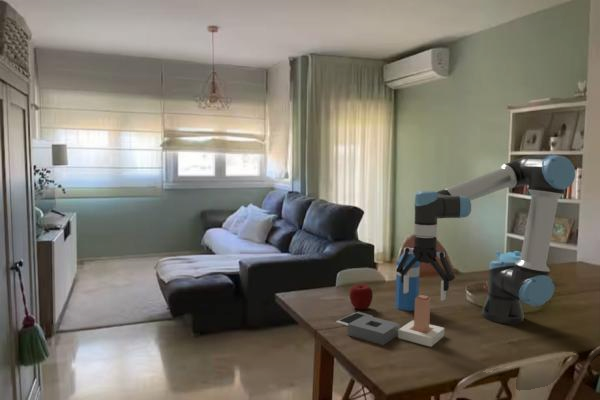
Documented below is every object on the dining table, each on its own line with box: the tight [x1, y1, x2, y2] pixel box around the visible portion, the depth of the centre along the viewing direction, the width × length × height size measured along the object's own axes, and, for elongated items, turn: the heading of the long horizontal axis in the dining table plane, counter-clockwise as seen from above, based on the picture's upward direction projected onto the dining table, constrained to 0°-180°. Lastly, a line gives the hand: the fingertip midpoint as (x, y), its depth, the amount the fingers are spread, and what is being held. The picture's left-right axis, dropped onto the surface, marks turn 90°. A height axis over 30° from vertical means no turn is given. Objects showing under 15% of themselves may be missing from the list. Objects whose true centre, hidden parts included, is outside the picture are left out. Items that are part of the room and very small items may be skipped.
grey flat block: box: [347, 315, 401, 346], centre depth 166 cm, size 14×12×4 cm
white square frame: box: [397, 319, 445, 348], centre depth 165 cm, size 12×12×3 cm
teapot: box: [493, 250, 521, 261], centre depth 250 cm, size 22×11×14 cm, turn 42°
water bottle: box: [394, 247, 421, 311], centre depth 196 cm, size 9×9×25 cm
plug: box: [413, 294, 431, 334], centre depth 164 cm, size 4×4×15 cm
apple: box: [349, 283, 374, 311], centre depth 194 cm, size 10×10×10 cm
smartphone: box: [335, 311, 374, 327], centre depth 181 cm, size 7×16×1 cm, turn 140°
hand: (424, 296), depth 164 cm, fingers open, 13 cm apart
